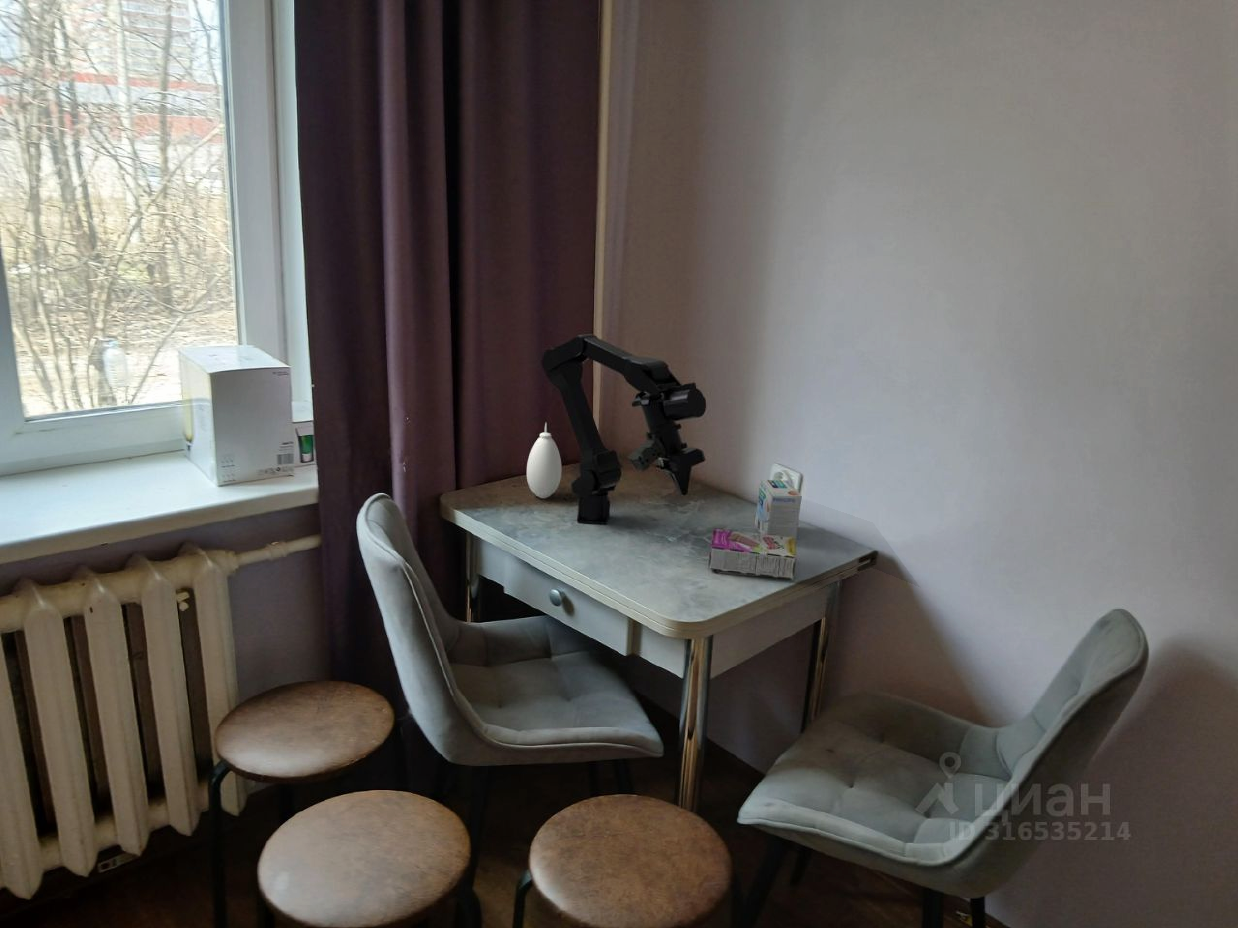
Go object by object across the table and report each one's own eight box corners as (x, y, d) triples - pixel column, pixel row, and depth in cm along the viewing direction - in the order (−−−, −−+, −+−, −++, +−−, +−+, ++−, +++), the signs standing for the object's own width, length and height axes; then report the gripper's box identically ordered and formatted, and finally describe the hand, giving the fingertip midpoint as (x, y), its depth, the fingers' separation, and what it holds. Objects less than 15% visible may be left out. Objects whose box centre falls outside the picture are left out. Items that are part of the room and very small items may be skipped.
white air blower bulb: (566, 496, 203) (570, 422, 198) (546, 505, 197) (549, 428, 192) (540, 489, 207) (542, 416, 202) (519, 497, 201) (521, 422, 196)
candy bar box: (713, 526, 176) (795, 536, 174) (710, 548, 178) (791, 559, 176) (710, 546, 166) (797, 557, 164) (707, 570, 167) (794, 581, 165)
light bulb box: (754, 524, 194) (759, 478, 191) (783, 525, 195) (789, 479, 191) (765, 543, 184) (771, 495, 181) (796, 543, 184) (803, 496, 181)
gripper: (610, 434, 180) (633, 503, 183) (643, 441, 162) (668, 517, 166) (657, 415, 183) (679, 483, 186) (694, 420, 165) (718, 495, 169)
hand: (684, 494), depth 177 cm, fingers closed
